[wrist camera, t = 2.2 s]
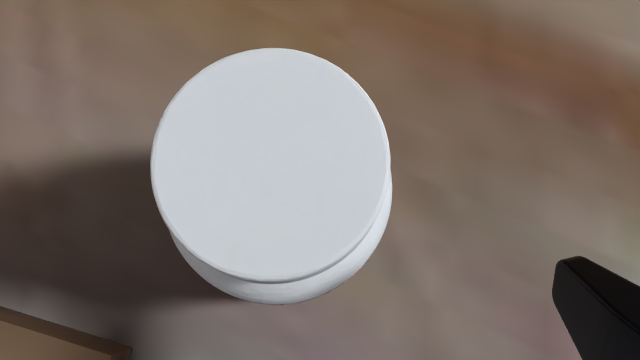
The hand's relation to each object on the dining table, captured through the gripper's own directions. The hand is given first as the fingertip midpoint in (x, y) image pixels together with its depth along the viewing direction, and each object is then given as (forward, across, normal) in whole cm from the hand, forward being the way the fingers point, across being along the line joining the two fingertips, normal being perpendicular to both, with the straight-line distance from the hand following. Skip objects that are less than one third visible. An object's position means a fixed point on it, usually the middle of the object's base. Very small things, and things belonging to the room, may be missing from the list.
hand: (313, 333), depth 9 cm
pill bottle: (+10, 0, +5) cm, 11 cm away
